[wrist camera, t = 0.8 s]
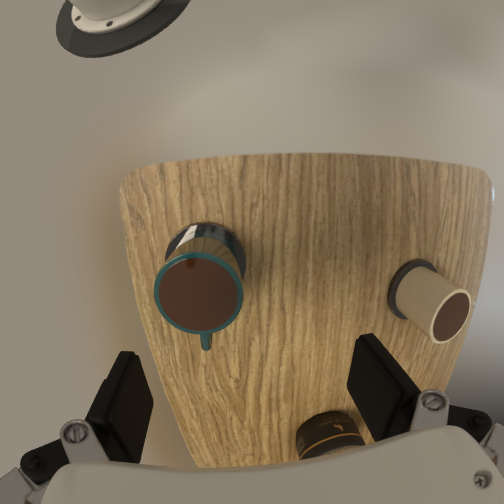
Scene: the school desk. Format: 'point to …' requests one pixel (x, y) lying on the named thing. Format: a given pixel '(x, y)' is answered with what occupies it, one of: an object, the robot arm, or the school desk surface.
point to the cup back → (433, 304)
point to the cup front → (200, 285)
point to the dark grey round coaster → (397, 280)
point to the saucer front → (214, 228)
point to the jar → (327, 435)
